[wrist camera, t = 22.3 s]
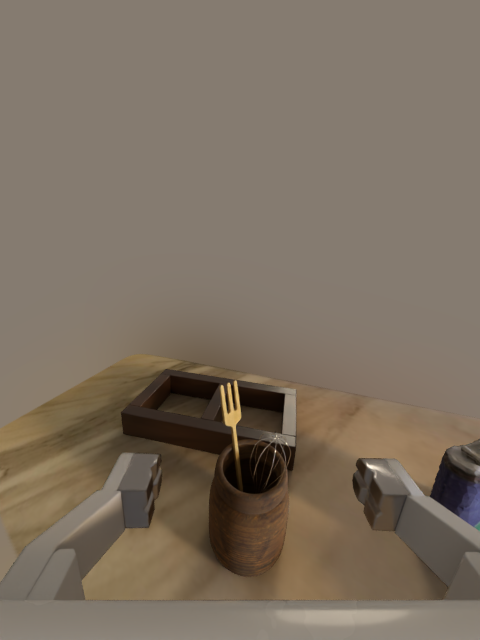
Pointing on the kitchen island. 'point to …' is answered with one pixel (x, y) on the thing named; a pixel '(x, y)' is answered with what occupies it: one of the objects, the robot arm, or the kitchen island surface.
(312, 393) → the kitchen island surface
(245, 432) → the rack
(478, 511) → the flask
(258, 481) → the utensil holder
